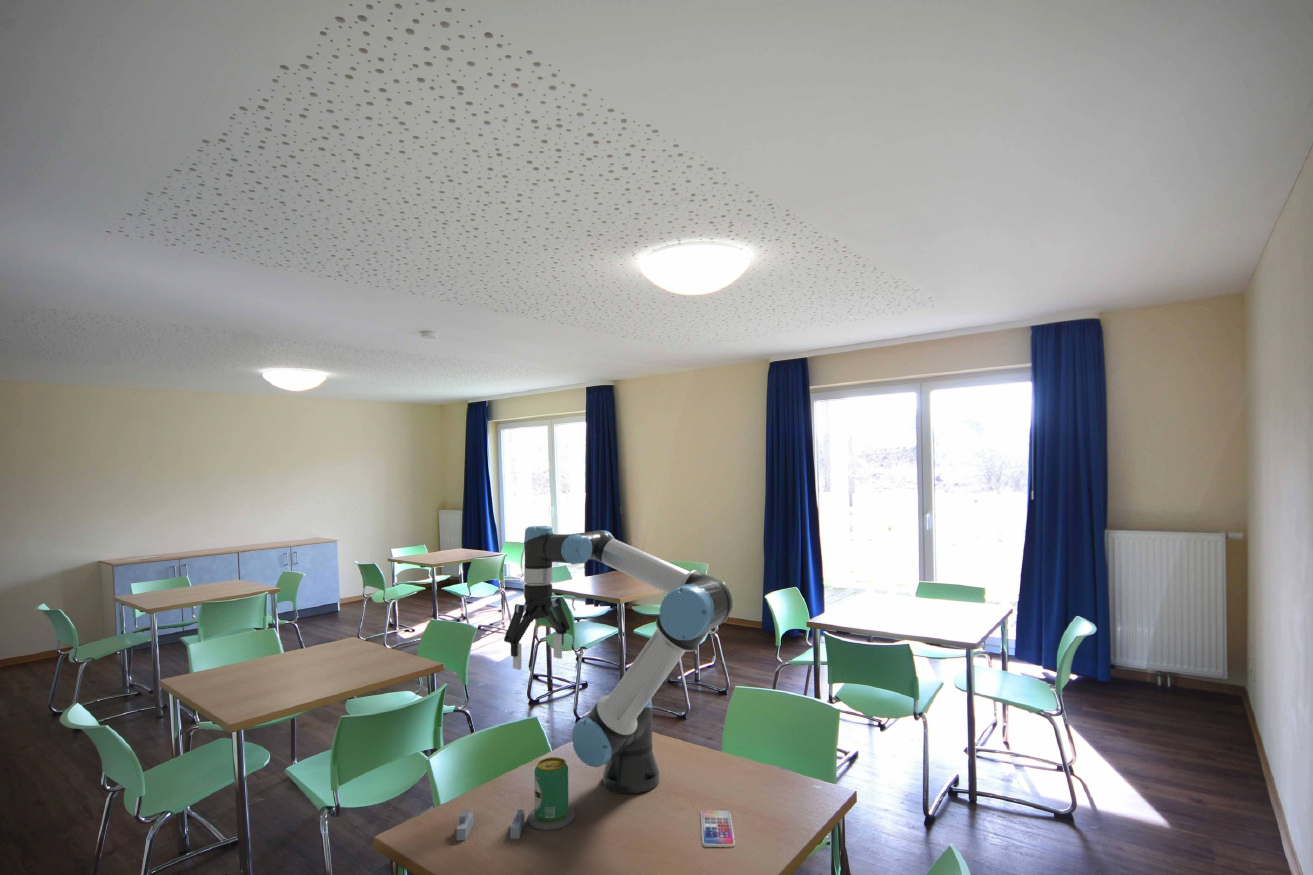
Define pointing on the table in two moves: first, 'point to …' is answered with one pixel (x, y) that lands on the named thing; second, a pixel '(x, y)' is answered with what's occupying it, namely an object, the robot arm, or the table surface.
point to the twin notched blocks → (468, 822)
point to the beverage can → (551, 790)
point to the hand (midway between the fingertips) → (538, 663)
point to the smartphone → (716, 828)
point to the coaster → (550, 826)
